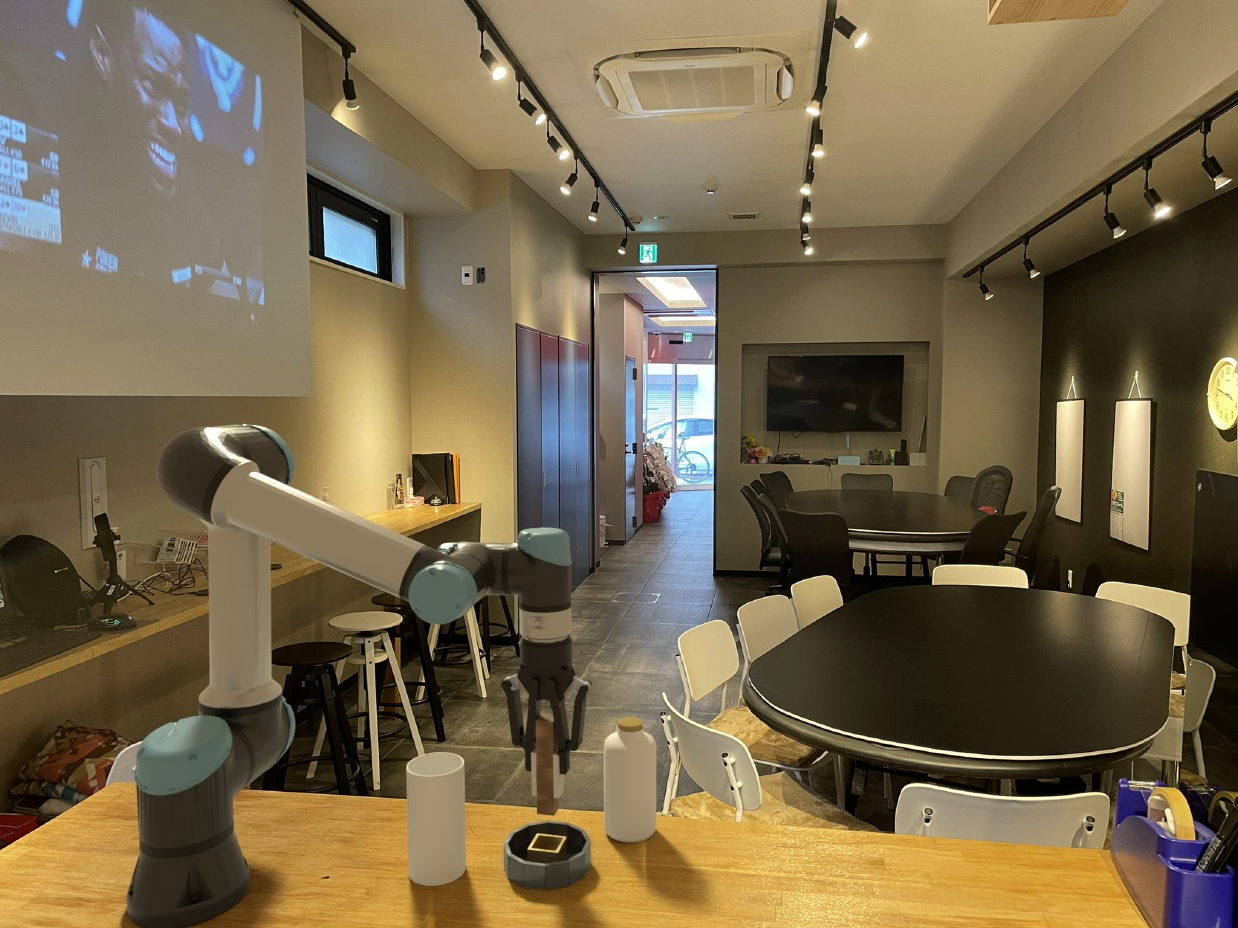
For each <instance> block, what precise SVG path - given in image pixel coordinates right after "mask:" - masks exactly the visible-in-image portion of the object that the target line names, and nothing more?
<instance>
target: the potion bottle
mask: <svg viewBox="0 0 1238 928" xmlns="http://www.w3.org/2000/svg"><path fill="white" fill-rule="evenodd" d="M616 723H617V725H616V731H615V732H613V733H611V734H609V735H608V736H607V737H606V738H605V740H604V743H603V744H604V745H603V828H604V831H605V833H606V834H607V835H608V836H609V837H610V838H611V839H613V840H615V841H617V842H622V843H633V844H634V843H639V842H643V841H646V840H647V839H649V838H651V837H652V836H653V834H655V832H656V829H657V741H656V740H655V738H654V737H653V735H652V734H649V733H647V732H645V731H644V729H645V726H644V721H643V720H642V719H641V718H639V717H634V716H625V717H621V718H619V719H618V720H617V722H616Z"/></svg>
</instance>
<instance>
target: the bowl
mask: <svg viewBox="0 0 1238 928" xmlns="http://www.w3.org/2000/svg"><path fill="white" fill-rule="evenodd" d="M591 843H592V840H591V839H590V837H589V835H588V833H587V832H586V830H585V829H583V828H581V827H579V826H578V825H575V824H573V823H570V822H563V821H558V820H557V821H555V820H545V821H539V822H538V821H537V822H532V823H531V822H530V823H526V824H525V825H522V826H520V827H519V828H516V829H514V830H513V831H510V833H509V834H508V836H507V838H506V839H505V840H504V842H503V868H504V872H505V874H506V877H507V879H508V880H510V881H511V882H514V883H516V884H517V885H519V886H520V887H522V888H524V889H526V888H527V889H532V890H533V889H534V890H542V891H549V890H555V889H560V888H566V887H569V886H572V885H574V884H575V883H576V882H578V881H580V880H581V879H583V878H585V877H586V876H587V874H588V872H589V869H590V867H591V864H592V853H591V852H592V849H591V847H592V844H591Z"/></svg>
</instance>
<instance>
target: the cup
mask: <svg viewBox="0 0 1238 928" xmlns="http://www.w3.org/2000/svg"><path fill="white" fill-rule="evenodd" d="M465 772H466V771H465V760H464V758H463V756H461V755H459V754H456V753H452V752H445V751H444V752H441V751H440V752H439V751H438V752H437V751H436V752H430V753H424V754H421V755H418V756H417V757H414V758H412V759H411V760H409V761H408V762H407V764H406V773H405V775H406V815H407V816H406V817H407V818H406V819H407V821H406V822H407V825H406V826H407V860H408V861H407V863H408V864H407V865H408V866H407V868H408V869H407V870H408V873H407V874H408V877H409V879H410V880H411V881H412V882H413V883H415V884H418V885H421V886H427V887H437V886H442V885H447V884H450V883H452V882H455V881H457V880H458V879H459V878H461V877H462V876H463V874H464V873H465V872H466V869H467V856H466V855H467V854H466V853H467V852H466V850H467V845H466V844H467V843H466V839H467V838H466V791H465V790H466V786H465V785H466V784H465V781H466V780H465Z"/></svg>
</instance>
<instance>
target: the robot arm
mask: <svg viewBox="0 0 1238 928" xmlns="http://www.w3.org/2000/svg"><path fill="white" fill-rule="evenodd" d="M155 473H156V479H157V483H158V486H159V488H160V490H161V492H162V493H163V494H164V496H165V497H166V498H167V499H168V501H169V502H170V503H172V504H173V505H174V506H176V508H178V509H180V510H182V511H183V512H185V513H186V514H189V515H191V516H193V517H195V518H197V519H198V520H199V521H200V522H202V524H204V525H205V526H206V527H207V537H208V539H207V543H208V548H207V549H208V556H207V557H208V558H207V559H208V624H209V625H208V630H209V632H208V634H209V635H208V636H209V637H208V638H209V639H208V642H209V643H208V644H209V646H208V647H209V653H208V654H209V685H208V686H207V687H206V688H204V690H202V691H201V693H199V696H198V715H195V716H194V715H193V716H188V717H184V718H183V717H182V718H181V719H180V718H179V720H178V721H176V722H174V721H172V722H168V723H165V724H164V725H162V726H160V727H158V728H156V729H154V730H153V731H152V732H150V733H149V734H148V735H147V736H146V737H145V738H143V740H142V741H141V743H140V744H139V745H138V748H137V750H136V757H135V759H136V761H135V767H134V781H135V784H136V786H135V787H136V800H137V801H136V802H137V805H136V806H137V822H138V843H139V844H138V845H139V853H138V857H137V859H136V864H135V865H134V866H135V867H134V870H133V874H132V876H131V878H130V879H131V880H130V884H129V886H128V890H127V893H126V910H127V911H126V913H127V917H128V918H129V919H130V921H131V922H132V923H134V924H135V925H138V926H140V927H143V928H182V927H183V928H184V927H187V926H191V925H195V924H198V923H202V922H204V921H208V920H210V919H212V918H214V917H217V916H218V915H220V914H223V913H224V912H226V911H228V910H229V909H231V908H232V907H233V906H235V905H236V904H237V903H239V902H240V901H241V899H243V898H244V896H245V895H246V894H247V892H248V890H249V888H250V885H251V884H250V883H251V881H250V880H251V879H250V877H251V876H250V867H249V863H248V861H247V859H246V858H245V857H244V854H243V851H242V849H241V846H240V843H239V841H238V838H237V836H236V833H235V819H234V818H235V815H234V798H235V796H236V795H238V794H239V793H240V792H241V791H243V790H244V789H245V788H246V787H248V786H249V785H250V784H251V783H252V782H254V781H255V780H256V779H257V778H258V777H260V776H261V775H262V774H263V773H265V772H267V771H268V770H270V769H271V768H273V766H274V765H275V764H277V762H279V761H280V759H281V758H282V757H283V755H284V754H285V753H286V752H287V750H289V747H290V746H291V743H292V742H293V740H294V736H295V733H296V731H295V730H296V718H295V714H294V711H293V709H292V706H291V704H288V703H287V702H286V698H285V697H284V696H283V689H282V685H281V684H280V683H279V682H277V681H276V680H274V679H273V677H272V577H271V576H272V574H271V573H272V571H271V570H272V567H271V566H272V562H271V560H272V559H271V557H272V554H271V552H272V551H271V547H272V546H271V545H272V543H274V544H277V545H279V546H281V547H283V548H285V549H287V550H290V551H292V552H294V553H297V554H298V555H301V556H303V557H305V558H308V559H310V560H313V561H314V562H317V563H319V564H322V565H324V566H325V567H326V566H327V567H329V568H331V569H333V570H335V571H338V572H339V573H342V574H345V575H347V576H349V577H351V578H353V579H355V580H359V581H361V582H363V583H364V584H367V585H370V586H371V587H374V588H377V589H379V590H381V591H383V592H386V593H388V594H391V595H392V596H395V597H397V598H399V599H402V600H404V601H406V602H408V603H409V605H410V607H411V609H412V611H413V613H415V615H416V616H417V617H418V618H419V619H420V620H422V621H424V622H426V623H429V624H431V625H445V624H449V623H451V622H453V621H455V620H457V619H459V618H461V617H463V616H465V614H466V613H468V612H469V611H470V610H471V608H472V607H473V606H474V605H475V604H477V603H478V602H479V601H481V600H482V599H483V598H485V597H486V596H518V611H519V612H518V614H519V616H518V619H519V635H521V636H522V637H521V638H520V639H519V663H520V664H519V665H520V666H519V668H518V670H517V672H516V673H515V674H513V675H511V674H510V675H507V676H506V677H505V678H504V679H503V680H502V681H501V682H500V686H501V688H502V690H503V693H504V694H505V697H506V704H507V714H508V721H509V728H510V736H511V743H512V745H513V746H514V747H521V748H522V749H523V750H524V768H525V771H526V772H531V773H530V774H531V797H536V798H537V775H536V719H537V718H538V717H539V716H540V715H541V710H542V709H541V708H542V701H543V700H545V701H548V702H549V706H550V709H551V710H552V711H551V712H552V715H553V718H554V725H555V732H556V739H557V746H558V749H557V750H556V751H555V753H554V754H553V784H554V798H556V799H559V800H560V797H561V795H563V792H564V791H565V785H564V783H565V781H564V775H566V776H567V774H568V772H569V770H570V768H571V752H575V751H577V750H578V749H579V748H580V746H581V745H582V744H583V738H584V727H585V719H586V708H587V707H586V706H587V698H588V695H589V692H590V691H591V689H592V686H593V683H592V681H591V680H590V679H589V680H588V679H587V680H585V681H584V680H583V679H581V678H579V677H577V675H576V671H575V670H574V667H573V639H572V637H571V633H572V632H573V628H572V627H573V626H572V564H573V563H572V557H571V556H572V555H571V544H570V535H569V534H568V533H567V531H565V530H564V529H561V528H556V527H537V528H536V527H531V528H525V529H523V530H521V531H519V533H518V534H517V535H518V536H517V540H516V542H514V541H513V543H512V542H507V543H506V542H505V543H504V542H471V541H470V542H469V541H466V540H463V541H462V540H461V541H459V542H445V543H442V544H440V545H439V546H438V547H437V549H435V548H432V547H430V546H428V545H426V544H424V543H422V542H419V541H417V540H414V539H413V538H410V537H407V536H406V535H403V534H401V533H399V532H397V531H393V530H391V529H389V528H387V527H384V526H383V525H380V524H378V523H375V522H373V521H371V520H368V519H366V518H364V517H361V516H359V515H356V514H355V513H353V512H350V511H348V510H345V509H343V508H341V507H339V506H337V505H334V504H331V502H327V501H325V500H323V499H320V498H318V497H316V496H313V495H311V494H309V493H306V492H304V491H302V490H300V489H297V488H295V487H292V486H290V484H291V483H292V481H293V478H294V475H295V458H294V456H293V452H292V450H291V448H290V447H289V445H288V443H287V442H286V441H285V440H284V439H283V438H282V436H280V435H279V434H278V433H276V432H275V431H274V430H272V429H269V428H267V427H265V426H262V425H254V424H253V425H252V424H245V423H243V424H242V423H241V424H230V425H229V424H227V425H219V426H218V425H217V426H198V427H192V428H188V429H186V430H183V431H181V432H179V433H177V434H176V435H174V436H173V437H172V438H171V439H169V440H168V441H167V442H166V444H165V445H164V446H163V447H162V449H161V451H160V452H159V455H158V457H157V462H156V471H155ZM521 685H522V686H523V688H524V689H525V691H526V692H527V694H528V700H527V706H528V708H527V716H526V725H525V723H524V716H523V707H522V701H521V700H522V699H521V692H520V691H521V690H520V687H521ZM570 686H573V690H572V691H573V694H574V695H575V698H574V704H573V710H572V711H573V713H572V723H571V733H570V730H569V725H568V724H569V723H568V718H567V717H568V716H567V708H566V694H565V693H566V692H567V690H568V689H569V688H570Z"/></svg>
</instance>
